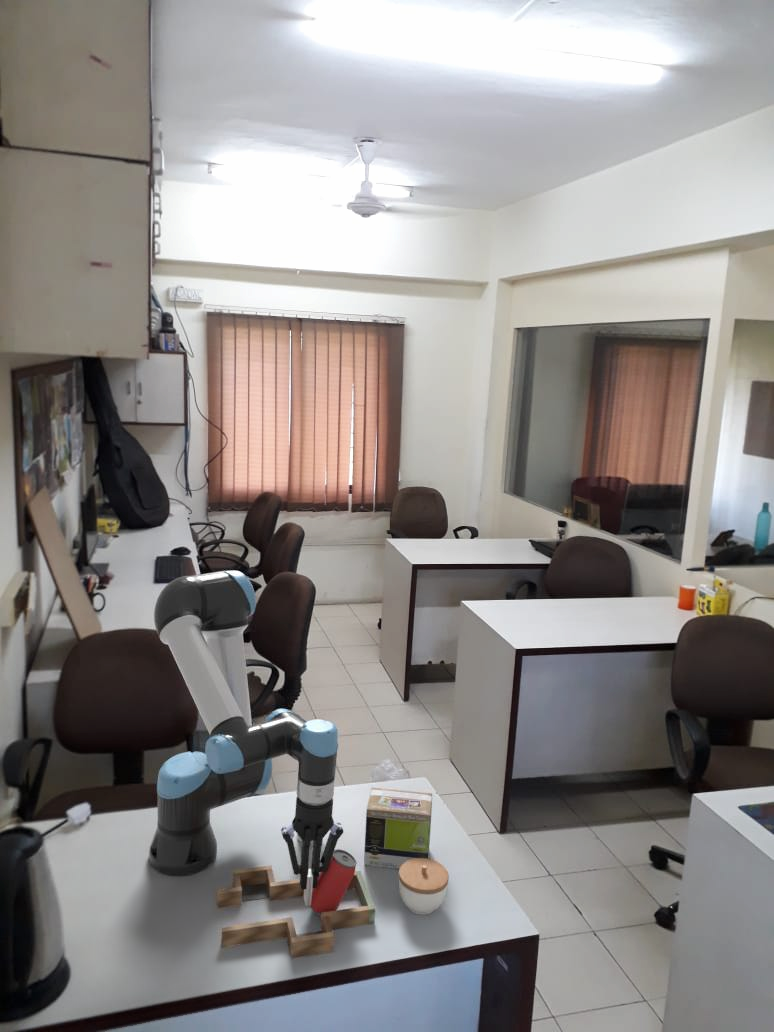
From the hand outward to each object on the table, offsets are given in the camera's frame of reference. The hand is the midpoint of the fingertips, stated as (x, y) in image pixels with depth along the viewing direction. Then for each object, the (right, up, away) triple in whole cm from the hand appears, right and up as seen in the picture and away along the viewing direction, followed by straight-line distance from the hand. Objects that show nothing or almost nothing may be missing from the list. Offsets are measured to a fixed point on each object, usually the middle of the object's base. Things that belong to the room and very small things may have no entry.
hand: (307, 901), depth 159 cm
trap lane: (-3, -3, +1) cm, 5 cm away
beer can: (+3, -2, +2) cm, 4 cm away
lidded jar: (+24, -4, +6) cm, 25 cm away
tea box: (+19, -1, +22) cm, 29 cm away
